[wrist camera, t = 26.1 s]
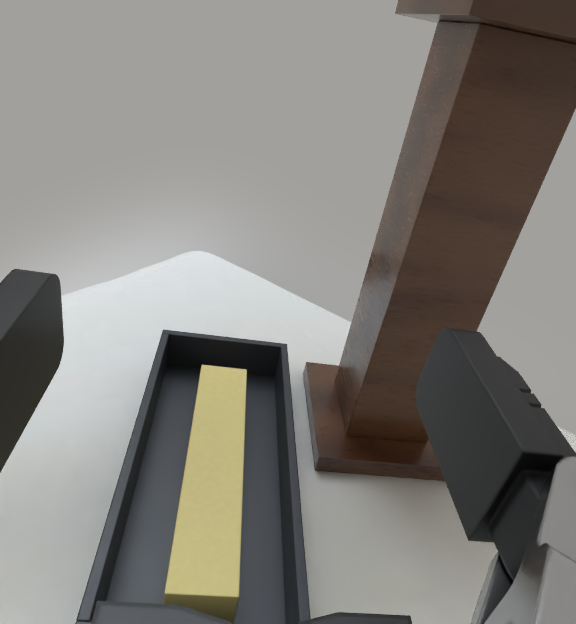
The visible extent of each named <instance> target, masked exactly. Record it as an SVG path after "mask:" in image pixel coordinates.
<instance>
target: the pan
mask: <svg viewBox="0 0 576 624" xmlns="http://www.w3.org/2000/svg"><path fill="white" fill-rule="evenodd" d="M201 365H210V366H219V367H228V368H237V369H246V370H247V381H246V410H245V439H244V468H243V497H242V527H241V556H240V585H239V599H238V604H237V608H236V612H235V617H234V621H233V623H236V624H294V623H298V622H302V621H306V620H310V608H309V597H308V585H307V573H306V562H305V550H304V538H303V527H302V515H301V503H300V492H299V480H298V468H297V457H296V445H295V433H294V422H293V410H292V398H291V387H290V375H289V363H288V352H287V344H282V343H273V342H265V341H256V340H248V339H239V338H230V337H222V336H213V335H205V334H196V333H188V332H179V331H170V330H163V332H162V335H161V339H160V342H159V345H158V349H157V352H156V355H155V359H154V362H153V365H152V369H151V372H150V376H149V379H148V382H147V386H146V389H145V392H144V396H143V399H142V402H141V406H140V409H139V412H138V416H137V419H136V422H135V426H134V429H133V432H132V436H131V439H130V442H129V446H128V449H127V452H126V456H125V459H124V463H123V466H122V469H121V473H120V476H119V479H118V483H117V486H116V489H115V493H114V496H113V499H112V503H111V506H110V509H109V513H108V516H107V519H106V523H105V526H104V529H103V533H102V536H101V540H100V543H99V546H98V550H97V553H96V556H95V560H94V563H93V566H92V570H91V573H90V576H89V580H88V583H87V586H86V590H85V593H84V596H83V600H82V603H81V606H80V610H79V613H78V617H77V622H76V623H75V624H91V622H92V618H93V614H94V611H95V607H96V603H97V601H110V602H131V603H152V604H163V603H164V592H165V586H166V580H167V574H168V568H169V562H170V555H171V549H172V543H173V537H174V531H175V525H176V519H177V513H178V506H179V500H180V494H181V488H182V482H183V476H184V470H185V463H186V457H187V451H188V445H189V439H190V433H191V427H192V420H193V414H194V408H195V402H196V396H197V390H198V384H199V378H200V371H201Z"/></svg>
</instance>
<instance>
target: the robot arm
mask: <svg viewBox="0 0 576 624" xmlns="http://www.w3.org/2000/svg"><path fill="white" fill-rule="evenodd" d="M63 345H64V336H63V319H62V303H61V287H60V280H59V278H58V276H57V275H56V274H49V273H43V272H35V271H28V270H20V269H14V270H12V271H11V272H10V273H9V274H8V275H7V276H6V277H5V278H4V279H3V281H2V282H1V283H0V472H1V470H2V468H3V467H4V465H5V463H6V461H7V459H8V458H9V456H10V454H11V452H12V450H13V449H14V447H15V445H16V443H17V441H18V440H19V438H20V436H21V434H22V432H23V431H24V429H25V427H26V425H27V423H28V422H29V420H30V418H31V416H32V414H33V413H34V411H35V409H36V407H37V405H38V404H39V402H40V400H41V398H42V396H43V395H44V393H45V391H46V389H47V387H48V386H49V384H50V382H51V380H52V378H53V377H54V375H55V373H56V371H57V369H58V367H59V364H60V361H61V358H62V353H63ZM416 406H417V410H418V413H419V415H420V418H421V420H422V423H423V425H424V428H425V431H426V433H427V436H428V438H429V441H430V443H431V446H432V448H433V451H434V453H435V456H436V459H437V461H438V464H439V466H440V469H441V471H442V474H443V476H444V479H445V482H446V484H447V487H448V489H449V492H450V494H451V497H452V499H453V502H454V505H455V507H456V510H457V512H458V515H459V517H460V520H461V522H462V525H463V527H464V530H465V533H466V535H467V538H468V540H469V541H481V542H494V543H495V546H496V548H497V550H498V552H497V554H496V555H495V557H494V558H493V560H492V562H491V564H490V567H489V570H488V573H487V576H486V579H485V582H484V584H483V587H482V590H481V593H480V596H479V599H478V602H477V605H476V608H475V611H474V614H473V617H472V620H471V623H470V624H576V453H575V452H574V450H573V449H572V447H571V446H570V444H569V443H568V442H567V440H566V439H565V437H564V436H563V435H562V433H561V432H560V430H559V429H558V428H557V426H556V425H555V423H554V422H553V421H552V419H551V418H550V416H549V415H548V413H547V412H546V411H545V409H543V408H541V404H540V402H539V401H538V399H537V398H536V397H535V395H534V394H531V390H530V388H529V387H528V385H527V384H526V382H525V381H524V380H523V378H522V377H521V375H520V374H519V373H518V372H517V371H516V370H515V369H513V368H512V367H511V366H510V365H509V364H507V363H506V362H505V361H504V360H502V359H501V358H500V357H497V356H496V354H495V353H494V351H493V350H492V349H491V347H490V346H489V344H488V343H487V341H486V340H485V338H484V337H483V335H482V334H481V333H480V332H477V331H469V330H462V329H454V328H443V329H442V330H441V331H440V332H439V333H438V335H437V337H436V339H435V342H434V344H433V347H432V349H431V352H430V354H429V356H428V359H427V361H426V364H425V366H424V369H423V371H422V373H421V376H420V378H419V381H418V384H417V388H416ZM91 624H236V623H233V622H230V621H227V620H224V619H221V618H218V617H215V616H212V615H209V614H206V613H203V612H200V611H197V610H194V609H190V608H187V607H184V606H181V605H173V604H152V603H131V602H110V601H97V603H96V607H95V611H94V614H93V618H92V622H91ZM294 624H412V621H411V617H410V616H405V615H384V614H363V613H342V612H338V613H334V614H330V615H326V616H322V617H318V618H314V619H310V620H306V621H302V622H298V623H294Z"/></svg>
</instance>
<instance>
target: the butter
mask: <svg viewBox="0 0 576 624" xmlns="http://www.w3.org/2000/svg"><path fill="white" fill-rule="evenodd" d="M246 381H247V370H246V369H237V368H228V367H219V366H210V365H201V371H200V378H199V384H198V390H197V396H196V402H195V408H194V414H193V420H192V427H191V433H190V439H189V445H188V451H187V457H186V463H185V470H184V476H183V482H182V488H181V494H180V500H179V506H178V513H177V519H176V525H175V531H174V537H173V543H172V549H171V555H170V562H169V568H168V574H167V580H166V586H165V592H164V603H163V604H173V605H181V606H184V607H187V608H190V609H194V610H197V611H200V612H203V613H206V614H209V615H212V616H215V617H218V618H221V619H224V620H227V621H230V622H233V621H234V617H235V612H236V608H237V604H238V599H239V585H240V556H241V527H242V497H243V468H244V439H245V410H246Z"/></svg>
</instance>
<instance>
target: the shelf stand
mask: <svg viewBox="0 0 576 624" xmlns="http://www.w3.org/2000/svg"><path fill="white" fill-rule="evenodd" d="M395 13H396V14H399V15H404V16H408V17H413V18H417V19H422V20H427V21H431V22H436V23H438V24H437V27H436V31H435V34H434V38H433V41H432V45H431V48H430V52H429V55H428V59H427V62H426V66H425V69H424V73H423V76H422V80H421V83H420V87H419V90H418V94H417V97H416V101H415V104H414V107H413V111H412V115H411V118H410V122H409V125H408V128H407V132H406V135H405V139H404V142H403V146H402V149H401V153H400V156H399V160H398V163H397V167H396V170H395V174H394V177H393V180H392V184H391V188H390V191H389V194H388V198H387V201H386V205H385V208H384V212H383V215H382V219H381V222H380V226H379V229H378V233H377V236H376V240H375V243H374V246H373V250H372V253H371V257H370V260H369V264H368V267H367V271H366V274H365V278H364V281H363V285H362V288H361V292H360V295H359V299H358V302H357V305H356V309H355V312H354V316H353V319H352V323H351V326H350V330H349V333H348V337H347V340H346V344H345V347H344V351H343V354H342V358H341V361H340V365H339V366H336V365H327V364H318V363H309V362H306V365H305V369H304V373H303V375H304V384H305V392H306V400H307V408H308V416H309V424H310V432H311V440H312V448H313V456H314V464H315V470H321V471H333V472H345V473H357V474H369V475H381V476H393V477H405V478H417V479H430V480H442V481H445V479H444V476H443V474H442V471H441V469H440V466H439V464H438V461H437V459H436V456H435V453H434V451H433V448H432V446H431V443H430V441H429V438H428V436H427V433H426V431H425V428H424V425H423V423H422V420H421V418H420V415H419V413H418V410H417V406H416V388H417V384H418V381H419V378H420V376H421V373H422V371H423V369H424V366H425V364H426V361H427V359H428V356H429V354H430V352H431V349H432V347H433V344H434V342H435V339H436V337H437V335H438V333H439V332H440V331H441V330H442V329H443V328H454V329H462V330H469V331H477V329H478V327H479V324H480V322H481V320H482V318H483V315H484V313H485V311H486V309H487V306H488V304H489V302H490V299H491V297H492V295H493V293H494V291H495V288H496V286H497V284H498V282H499V279H500V277H501V275H502V272H503V270H504V268H505V266H506V264H507V261H508V259H509V257H510V255H511V252H512V250H513V248H514V246H515V243H516V241H517V239H518V237H519V234H520V232H521V230H522V228H523V225H524V223H525V221H526V219H527V216H528V214H529V212H530V209H531V207H532V205H533V203H534V201H535V199H536V196H537V194H538V192H539V189H540V187H541V185H542V183H543V181H544V178H545V176H546V174H547V171H548V169H549V167H550V165H551V162H552V160H553V158H554V156H555V154H556V151H557V149H558V147H559V145H560V142H561V140H562V138H563V136H564V133H565V131H566V129H567V127H568V124H569V122H570V120H571V118H572V115H573V113H574V111H575V109H576V0H398V4H397V8H396V12H395Z"/></svg>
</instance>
